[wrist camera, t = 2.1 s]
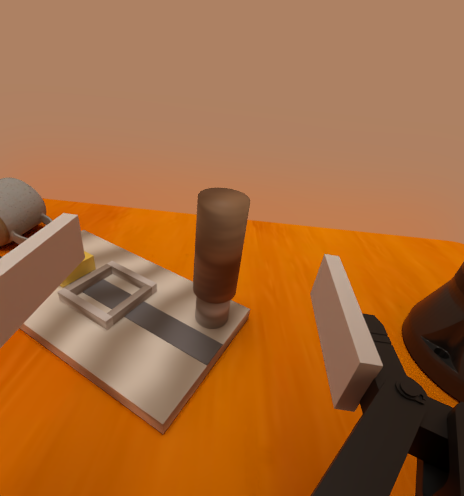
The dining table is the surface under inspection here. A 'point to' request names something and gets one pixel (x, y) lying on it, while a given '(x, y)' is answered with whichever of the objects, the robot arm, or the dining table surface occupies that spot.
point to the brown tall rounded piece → (218, 252)
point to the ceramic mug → (19, 210)
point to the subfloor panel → (133, 331)
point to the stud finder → (81, 269)
